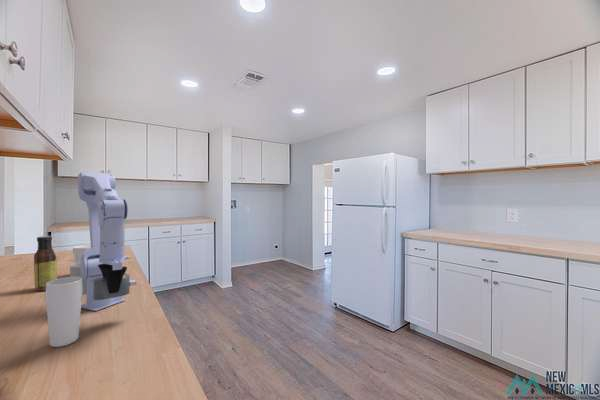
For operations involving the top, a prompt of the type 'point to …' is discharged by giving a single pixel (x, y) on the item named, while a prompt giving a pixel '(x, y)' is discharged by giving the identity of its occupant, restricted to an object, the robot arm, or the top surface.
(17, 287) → the top surface
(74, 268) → the mug
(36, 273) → the sauce bottle
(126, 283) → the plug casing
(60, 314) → the drinking glass
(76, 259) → the foam cup
